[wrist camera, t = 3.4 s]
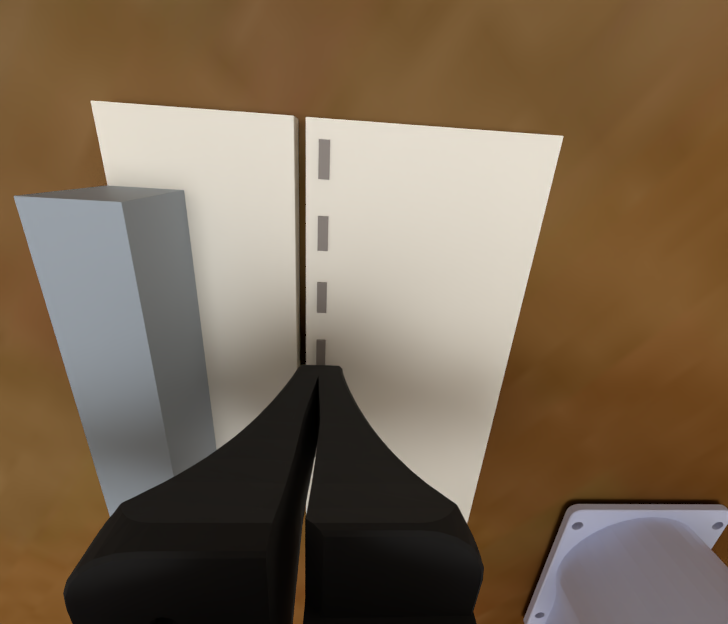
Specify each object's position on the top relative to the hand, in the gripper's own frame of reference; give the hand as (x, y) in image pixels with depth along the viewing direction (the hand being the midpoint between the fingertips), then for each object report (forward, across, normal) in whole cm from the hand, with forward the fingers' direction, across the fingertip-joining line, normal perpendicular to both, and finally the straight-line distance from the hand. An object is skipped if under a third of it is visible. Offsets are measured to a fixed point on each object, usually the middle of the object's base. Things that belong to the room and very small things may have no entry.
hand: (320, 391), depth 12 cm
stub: (+2, +3, 0) cm, 4 cm away
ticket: (+2, -3, 0) cm, 3 cm away
